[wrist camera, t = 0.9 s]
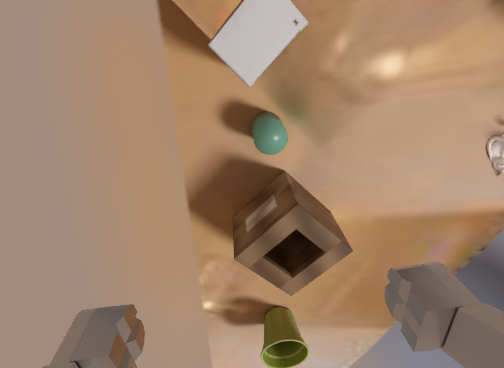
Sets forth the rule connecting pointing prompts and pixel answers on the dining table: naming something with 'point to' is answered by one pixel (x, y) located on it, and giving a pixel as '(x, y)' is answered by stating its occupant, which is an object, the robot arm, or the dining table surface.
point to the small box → (256, 36)
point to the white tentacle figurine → (496, 152)
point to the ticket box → (287, 235)
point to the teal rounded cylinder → (269, 133)
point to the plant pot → (282, 340)
